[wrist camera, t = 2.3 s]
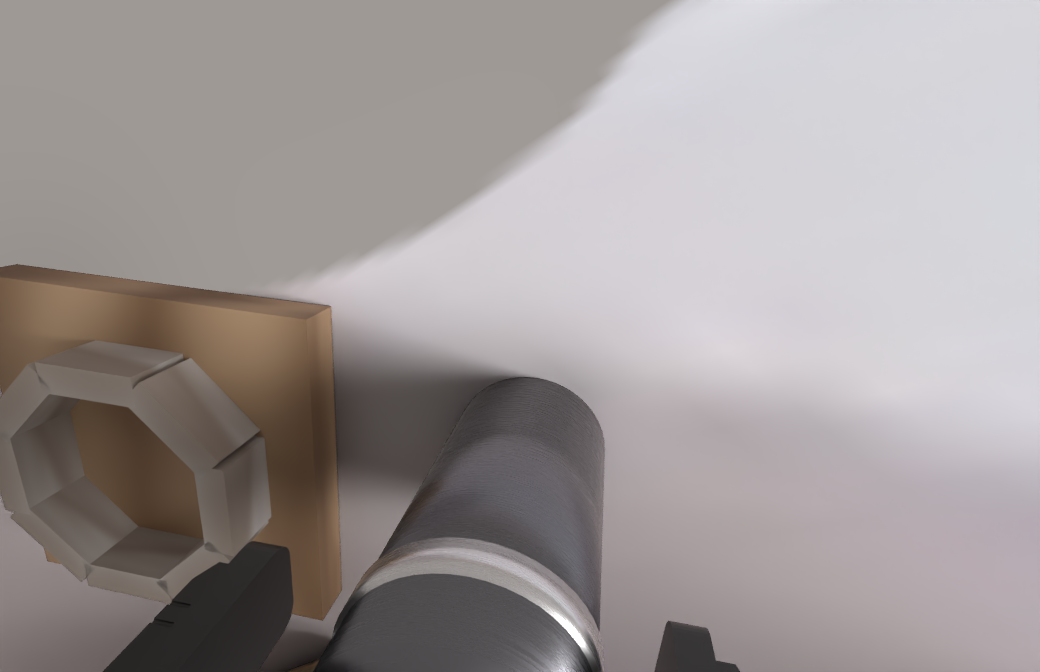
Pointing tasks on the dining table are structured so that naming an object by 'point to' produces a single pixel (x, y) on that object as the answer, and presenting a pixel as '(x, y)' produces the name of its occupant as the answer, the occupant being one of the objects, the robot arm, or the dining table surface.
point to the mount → (167, 430)
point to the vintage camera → (305, 667)
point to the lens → (491, 549)
